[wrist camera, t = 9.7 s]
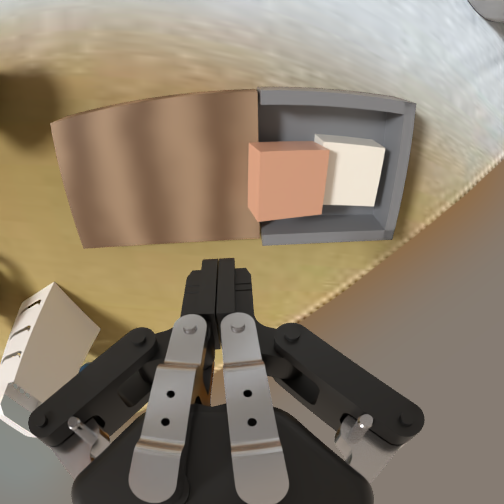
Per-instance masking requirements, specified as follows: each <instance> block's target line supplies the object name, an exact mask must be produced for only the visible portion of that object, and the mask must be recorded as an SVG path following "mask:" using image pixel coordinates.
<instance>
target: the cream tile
mask: <svg viewBox="0 0 504 504" xmlns="http://www.w3.org/2000/svg"><path fill="white" fill-rule="evenodd" d="M314 142H316V143H318V144H319V145H321V146H323V147H325V148H327V149H329V150H330V152H329V161H328V169H327V177H326V185H325V193H324V200H323V205H351V206H374V204H375V199H376V194H377V190H378V185H379V180H380V175H381V170H382V165H383V159H384V153H385V148H384V147H383V146H381V145H380V144H378V143H377V142H375V141H374V140H372V139H364V138H355V137H346V136H336V135H324V134H315V138H314Z"/></svg>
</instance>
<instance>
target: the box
mask: <svg viewBox="0 0 504 504" xmlns="http://www.w3.org/2000/svg"><path fill="white" fill-rule="evenodd" d="M257 92H258V142H277V141H314V138H315V134H324V135H336V136H346V137H355V138H364V139H372V140H374V141H375V142H377V143H378V144H380V145H381V146H383V147H384V148H385V153H384V159H383V165H382V170H381V175H380V180H379V185H378V190H377V194H376V199H375V204H374V206H351V205H323V207H322V214H320V215H311V216H303V217H294V218H286V219H278V220H270V221H262V222H259V225H260V232H261V239H262V245H263V246H265V245H286V244H307V243H328V242H350V241H372V240H392V238H393V234H394V230H395V226H396V222H397V218H398V213H399V209H400V204H401V199H402V195H403V190H404V184H405V179H406V174H407V168H408V162H409V156H410V150H411V143H412V136H413V128H414V120H415V110H416V103H413V102H410V101H407V100H404V99H400V98H397V97H392V96H386V95H379V94H372V93H364V92H355V91H346V90H334V89H320V88H301V87H257Z"/></svg>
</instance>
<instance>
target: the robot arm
mask: <svg viewBox="0 0 504 504" xmlns="http://www.w3.org/2000/svg"><path fill="white" fill-rule="evenodd" d="M468 1H469V2H470V4H471V5H472V6H473V7H474V9H475V10H476V11H477V12H478V13H479V14H480V15H482V16H483V17H484V18H486V19H488V20H490V21H494V22H504V0H468ZM221 346H222V351H223V362H224V365H223V372H224V383H225V393H226V404H223V405H218V406H214V407H211V391H212V382H213V374H214V366H215V362H214V358H215V349H221ZM267 376H272V377H273V378H274V380H275V381H276V382H277V383H278V384H279V385H280V386H282V387H283V388H284V389H285V390H286V391H288V392H289V393H290V394H291V395H292V396H293V397H294V398H296V399H297V400H298V401H299V402H301V403H302V404H303V405H304V406H305V407H307V408H308V409H309V410H310V411H311V412H313V413H314V414H315V415H317V416H318V417H319V418H320V419H321V420H323V421H324V422H325V423H327V424H328V425H329V426H330V427H332V428H333V429H334V430H335V431H337V432H336V434H335V439H334V441H335V445H336V447H337V448H338V449H339V451H340V452H341V453H342V454H343V456H344V458H345V461H344V460H343V459H342V458H340V457H339V456H338V455H337V454H335V453H334V452H333V451H332V450H331V449H330V448H328V447H327V446H326V445H325V444H324V443H323V442H321V441H320V440H319V439H318V438H317V437H315V436H314V435H313V434H312V433H311V432H310V431H309V430H308V429H307V428H305V427H304V426H303V425H302V424H301V423H300V422H299V421H297V419H295V418H294V417H293V416H292V415H290V414H289V413H287V412H285V411H283V410H281V409H278V408H276V407H273V405H272V400H271V395H270V390H269V385H268V380H267ZM148 401H149V402H148ZM147 402H148V406H147V410H146V412H145V413H143V414H142V415H141V416H139V417H138V418H137V419H136V420H135V421H134V422H133V423H132V424H131V425H130V426H129V427H128V428H126V429H125V430H124V431H123V432H122V433H121V434H120V435H119V436H118V437H117V438H116V439H115V440H114V441H113V442H112V443H111V444H110V436H111V435H112V434H113V433H114V432H115V431H117V430H118V429H119V428H120V427H121V426H122V425H123V424H124V423H125V422H127V421H128V420H129V419H130V418H131V417H132V416H133V415H134V414H135V413H136V412H138V411H139V410H140V409H141V408H142V407H143V406H144V405H145V404H146V403H147ZM28 425H29V429H30V431H31V433H32V434H33V435H34V436H36V437H37V438H39V439H40V440H41V441H42V442H43V443H44V444H46V445H47V446H48V447H50V448H51V449H52V450H53V452H54V453H55V455H56V456H57V457H58V459H59V460H60V462H61V463H62V464H63V466H64V467H65V468H66V470H67V471H68V472H69V474H70V475H71V476H72V477H73V479H74V483H73V486H72V491H71V494H72V502H73V504H373V503H374V495H373V491H372V488H371V486H370V483H371V482H372V481H373V480H374V479H375V478H376V477H377V475H378V474H379V473H380V472H381V471H382V469H383V468H384V467H385V465H386V464H387V463H388V462H389V461H390V459H391V458H392V457H393V456H394V454H395V453H396V452H397V451H398V450H399V449H400V448H401V447H402V446H404V445H405V444H406V443H407V442H408V441H409V440H411V439H412V438H413V437H414V436H415V435H416V434H417V433H419V432H420V430H421V429H422V427H423V425H424V414H423V412H422V410H421V409H420V408H419V407H418V406H417V405H416V404H414V403H413V402H411V401H410V400H408V399H407V398H405V397H404V396H402V395H401V394H399V393H398V392H396V391H395V390H393V389H392V388H390V387H389V386H388V385H386V384H385V383H383V382H382V381H380V380H379V379H377V378H376V377H374V376H373V375H372V374H370V373H369V372H367V371H366V370H364V369H363V368H361V367H360V366H359V365H357V364H356V363H354V362H353V361H351V360H350V359H349V358H347V357H346V356H344V355H343V354H342V353H340V352H339V351H337V350H336V349H334V348H333V347H332V346H330V345H329V344H327V343H326V342H325V341H323V340H322V339H320V338H319V337H318V336H316V335H315V334H313V333H312V332H311V331H309V330H308V329H307V328H305V327H303V326H302V325H300V324H297V323H286V324H283V325H281V326H279V327H278V328H277V329H274V328H269V327H266V326H263V325H262V324H260V323H259V322H258V321H257V320H256V318H255V316H254V308H253V296H252V284H251V274H250V273H249V272H248V270H247V269H246V268H236V269H235V260H234V258H224V259H219V261H218V259H205V260H203V261H202V269H201V270H196V271H192V272H191V273H190V275H189V276H188V277H187V280H186V287H185V294H184V298H183V304H182V311H181V317H180V318H179V319H178V320H177V321H176V322H175V324H174V326H173V328H171V329H169V330H167V331H164V332H160V333H156V334H154V332H153V331H152V330H150V329H148V328H144V327H141V328H136V329H133V330H131V331H130V332H129V333H127V334H126V335H125V336H124V337H122V338H121V339H120V340H119V341H117V342H116V343H115V344H114V345H113V346H111V347H110V348H109V349H108V350H106V351H105V352H104V353H103V354H101V355H100V356H99V357H98V358H97V359H95V360H94V361H93V362H92V363H90V364H89V365H88V366H87V367H86V368H84V369H83V370H82V371H81V372H79V373H78V374H77V375H76V376H75V377H73V378H72V379H71V380H70V381H69V382H67V383H66V384H65V385H64V386H62V387H61V388H60V389H59V390H58V391H56V392H55V393H54V394H53V395H52V396H50V397H49V398H48V399H47V400H46V401H44V402H43V403H42V404H41V405H40V406H38V407H37V408H36V409H35V410H34V411H33V412H32V413H31V415H30V417H29V421H28Z"/></svg>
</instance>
